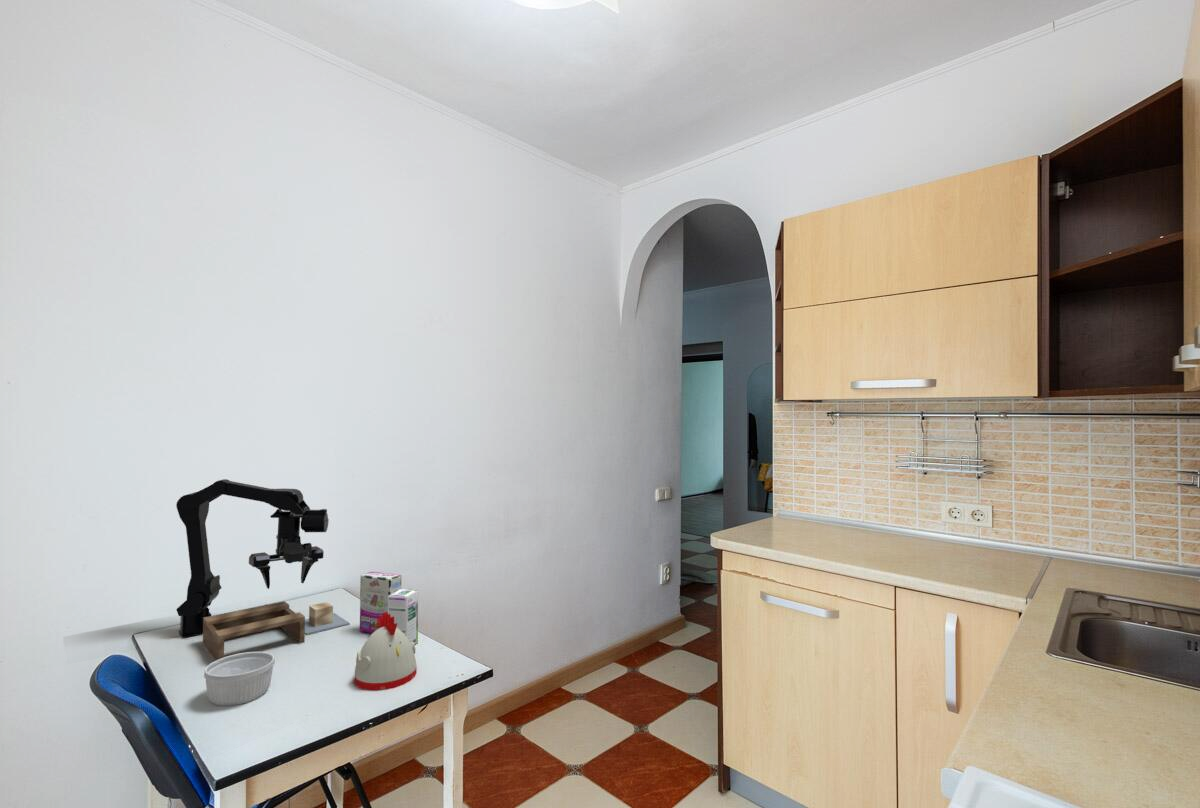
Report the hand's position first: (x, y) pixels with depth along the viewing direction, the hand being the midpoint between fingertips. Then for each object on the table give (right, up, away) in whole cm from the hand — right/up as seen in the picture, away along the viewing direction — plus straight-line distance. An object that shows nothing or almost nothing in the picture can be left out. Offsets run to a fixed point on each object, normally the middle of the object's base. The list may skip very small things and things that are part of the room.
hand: (285, 585), depth 167 cm
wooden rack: (-2, -12, -13) cm, 17 cm away
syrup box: (+40, -12, -14) cm, 44 cm away
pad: (+10, -12, +1) cm, 15 cm away
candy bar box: (+30, -12, -4) cm, 32 cm away
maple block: (+10, -11, +1) cm, 15 cm away
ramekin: (+13, -11, -41) cm, 45 cm away
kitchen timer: (+42, -12, -32) cm, 54 cm away
